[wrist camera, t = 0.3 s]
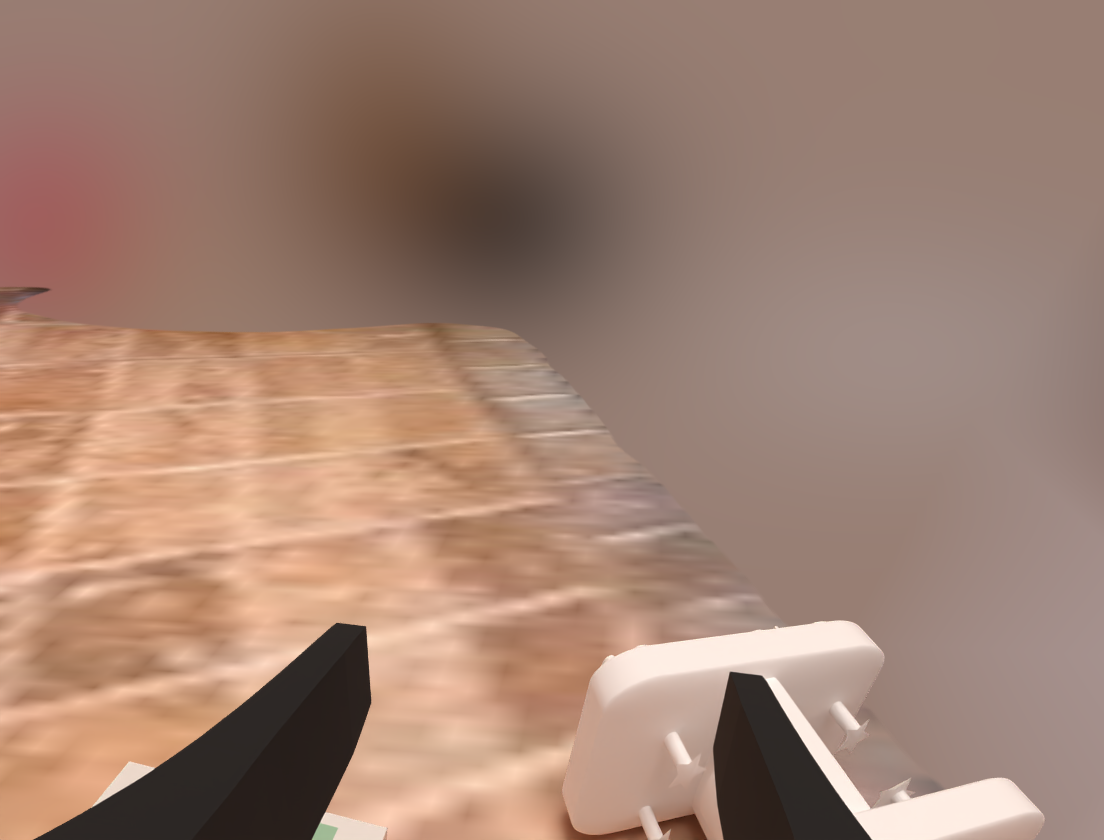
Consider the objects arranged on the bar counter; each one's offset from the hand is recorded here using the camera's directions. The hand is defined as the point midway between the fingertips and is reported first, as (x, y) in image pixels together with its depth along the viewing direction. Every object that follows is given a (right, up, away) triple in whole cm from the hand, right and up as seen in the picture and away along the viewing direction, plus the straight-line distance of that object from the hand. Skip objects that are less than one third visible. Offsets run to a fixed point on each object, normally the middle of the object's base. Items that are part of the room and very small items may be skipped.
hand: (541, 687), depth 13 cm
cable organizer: (+9, -17, +18) cm, 26 cm away
